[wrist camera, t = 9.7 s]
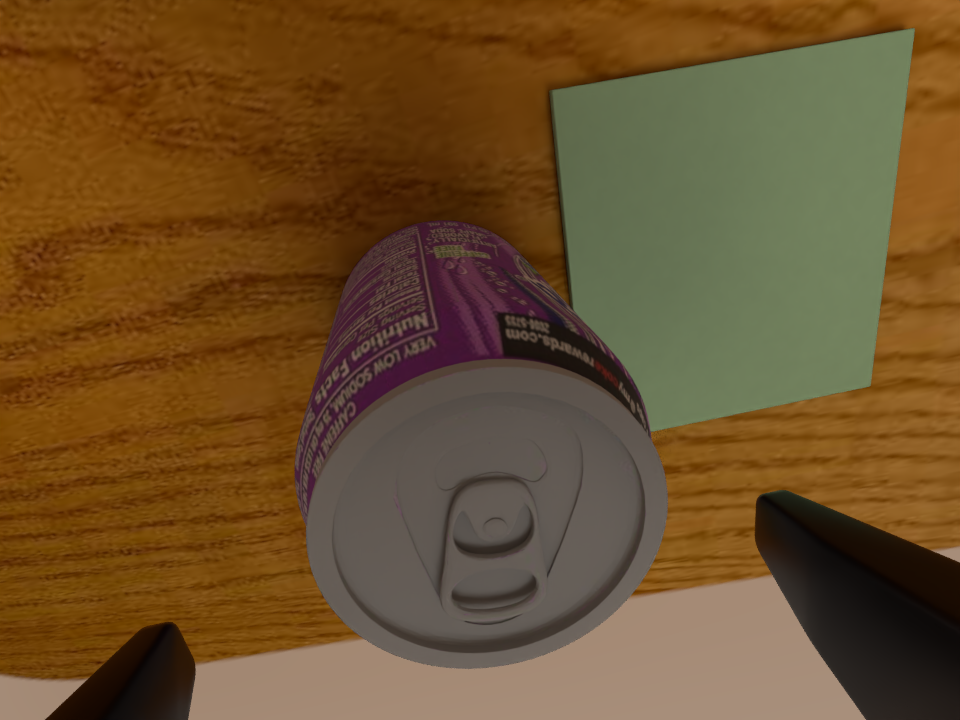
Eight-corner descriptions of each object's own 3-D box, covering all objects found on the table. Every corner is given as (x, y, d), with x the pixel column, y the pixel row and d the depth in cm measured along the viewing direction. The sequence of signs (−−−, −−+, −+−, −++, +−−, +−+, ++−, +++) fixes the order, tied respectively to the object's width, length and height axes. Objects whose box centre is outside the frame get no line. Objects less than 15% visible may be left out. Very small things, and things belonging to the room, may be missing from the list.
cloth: (863, 382, 24) (870, 386, 24) (583, 440, 24) (586, 445, 23) (905, 29, 19) (915, 27, 19) (548, 90, 19) (551, 89, 18)
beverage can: (537, 400, 23) (672, 663, 12) (350, 414, 22) (305, 711, 11) (541, 213, 20) (721, 323, 9) (329, 221, 19) (239, 352, 8)
